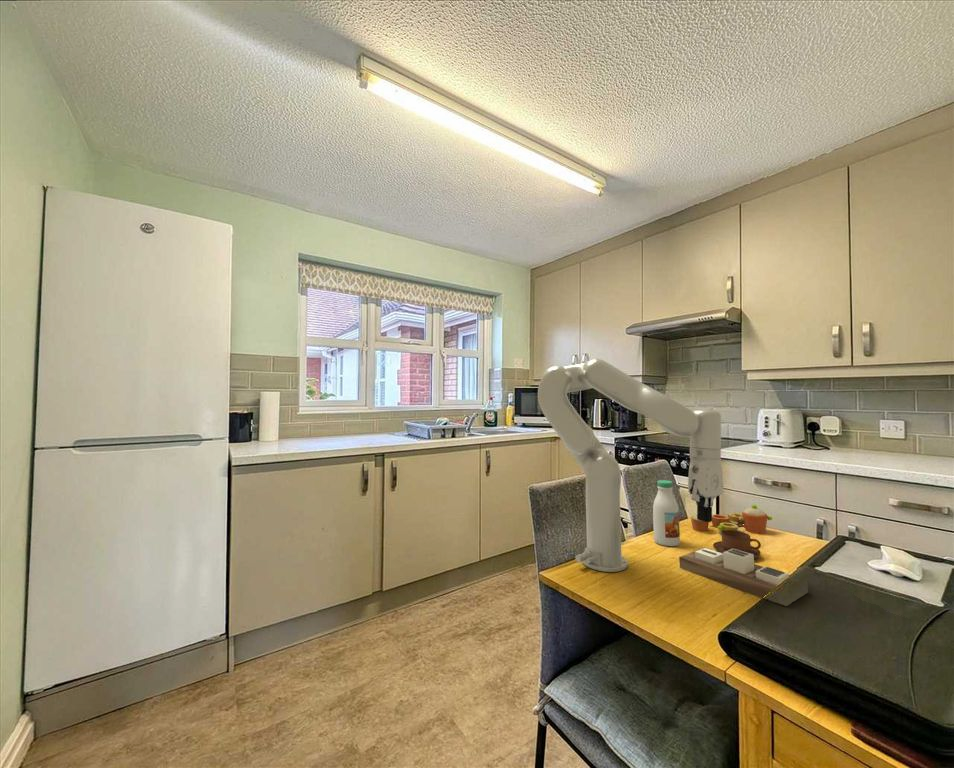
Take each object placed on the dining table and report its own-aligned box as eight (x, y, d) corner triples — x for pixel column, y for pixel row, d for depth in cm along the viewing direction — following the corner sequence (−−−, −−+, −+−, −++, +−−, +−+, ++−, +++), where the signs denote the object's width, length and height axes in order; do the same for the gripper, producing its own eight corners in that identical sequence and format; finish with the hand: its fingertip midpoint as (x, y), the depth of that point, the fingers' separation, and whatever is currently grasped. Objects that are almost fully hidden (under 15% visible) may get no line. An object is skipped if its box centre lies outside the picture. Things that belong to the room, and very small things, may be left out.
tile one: (714, 572, 105) (713, 556, 106) (695, 566, 110) (695, 550, 110) (724, 568, 108) (723, 552, 108) (705, 562, 112) (704, 547, 113)
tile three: (780, 596, 93) (779, 577, 93) (756, 587, 97) (755, 569, 97) (789, 590, 95) (788, 572, 96) (765, 582, 100) (765, 565, 100)
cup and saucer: (745, 547, 125) (745, 528, 125) (770, 563, 113) (769, 541, 113) (706, 546, 126) (705, 527, 126) (725, 562, 114) (725, 540, 114)
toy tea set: (736, 521, 152) (735, 495, 153) (777, 533, 138) (776, 505, 138) (682, 528, 145) (681, 501, 145) (720, 542, 130) (719, 512, 130)
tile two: (744, 574, 99) (744, 557, 99) (723, 567, 103) (723, 551, 104) (754, 570, 102) (753, 553, 102) (733, 563, 106) (732, 547, 106)
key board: (786, 607, 89) (785, 593, 89) (679, 567, 110) (679, 556, 110) (808, 593, 95) (807, 580, 95) (703, 558, 116) (703, 548, 116)
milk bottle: (655, 545, 127) (653, 483, 128) (652, 537, 134) (650, 478, 135) (682, 548, 125) (680, 484, 125) (677, 539, 132) (675, 479, 133)
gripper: (703, 457, 103) (703, 528, 103) (733, 454, 111) (732, 520, 110) (676, 453, 110) (675, 520, 109) (706, 451, 117) (705, 513, 117)
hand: (704, 520), depth 110 cm, fingers closed
